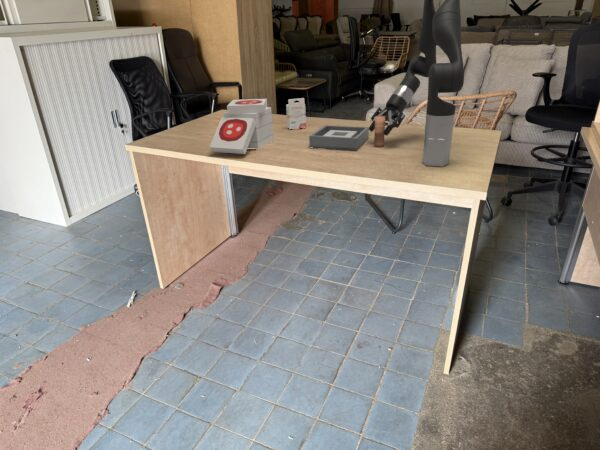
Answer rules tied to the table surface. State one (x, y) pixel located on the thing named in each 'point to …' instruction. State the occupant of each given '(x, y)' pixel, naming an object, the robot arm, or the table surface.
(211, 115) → the table surface
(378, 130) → the peg
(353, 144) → the open box
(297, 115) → the ink cartridge box
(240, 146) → the stack of white boxes
